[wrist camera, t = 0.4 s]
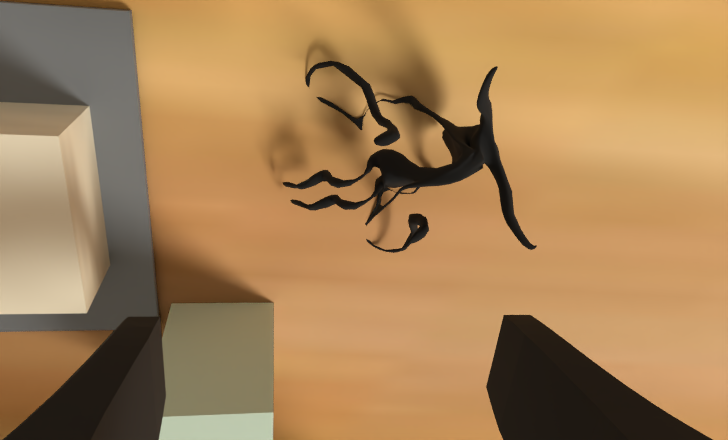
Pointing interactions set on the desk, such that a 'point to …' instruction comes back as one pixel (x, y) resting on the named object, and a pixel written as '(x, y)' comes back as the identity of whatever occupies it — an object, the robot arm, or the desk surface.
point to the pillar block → (218, 371)
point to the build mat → (111, 139)
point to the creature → (397, 171)
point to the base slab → (49, 210)
